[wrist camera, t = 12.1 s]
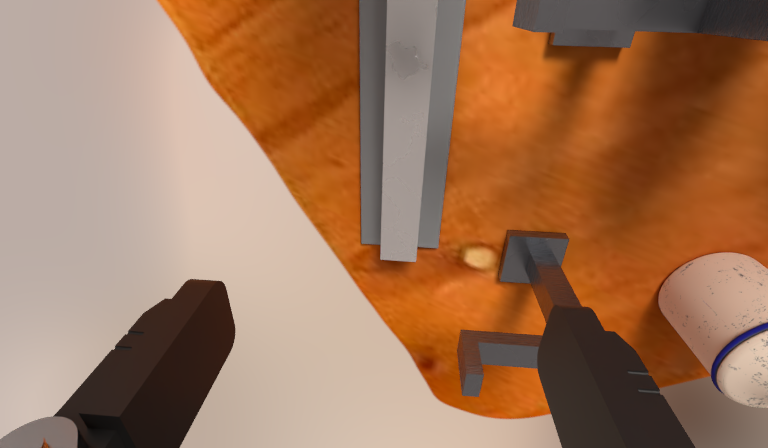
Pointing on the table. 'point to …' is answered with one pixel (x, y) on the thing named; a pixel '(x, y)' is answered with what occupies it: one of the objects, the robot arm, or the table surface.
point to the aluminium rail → (405, 122)
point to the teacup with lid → (723, 321)
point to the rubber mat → (438, 117)
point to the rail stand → (546, 249)
